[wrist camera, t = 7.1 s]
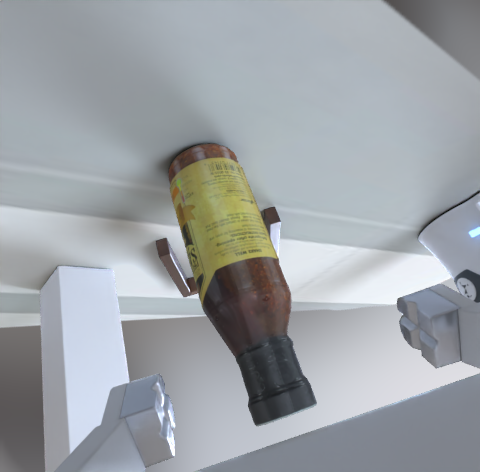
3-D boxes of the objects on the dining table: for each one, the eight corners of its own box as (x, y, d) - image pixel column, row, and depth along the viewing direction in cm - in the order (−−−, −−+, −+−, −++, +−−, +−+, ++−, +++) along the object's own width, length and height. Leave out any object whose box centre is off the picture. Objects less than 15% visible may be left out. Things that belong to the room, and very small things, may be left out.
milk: (58, 264, 37) (73, 525, 26) (114, 268, 41) (147, 496, 31) (38, 291, 40) (45, 532, 30) (92, 292, 44) (115, 505, 34)
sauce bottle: (150, 162, 28) (215, 441, 19) (221, 125, 27) (326, 403, 18) (188, 200, 34) (252, 429, 25) (248, 171, 33) (338, 399, 24)
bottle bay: (274, 206, 40) (280, 221, 39) (272, 257, 51) (276, 269, 50) (155, 240, 38) (158, 257, 37) (180, 284, 50) (183, 297, 49)
